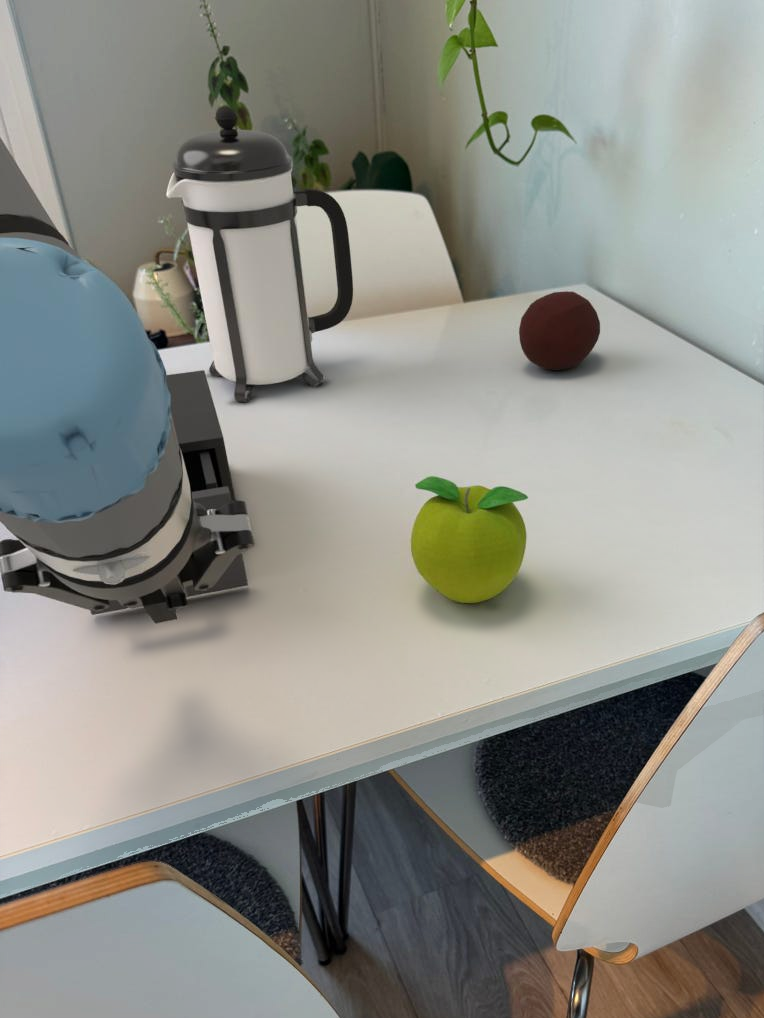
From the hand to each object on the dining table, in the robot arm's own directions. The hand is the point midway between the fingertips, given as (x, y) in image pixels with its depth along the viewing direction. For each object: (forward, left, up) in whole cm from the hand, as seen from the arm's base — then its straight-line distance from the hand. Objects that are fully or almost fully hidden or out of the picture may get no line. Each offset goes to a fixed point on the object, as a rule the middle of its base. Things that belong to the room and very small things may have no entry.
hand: (162, 602), depth 64 cm
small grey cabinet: (0, +27, -8) cm, 28 cm away
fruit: (+24, +5, -8) cm, 26 cm away
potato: (+51, +49, -8) cm, 71 cm away
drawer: (0, +16, -7) cm, 18 cm away
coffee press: (+16, +58, -8) cm, 61 cm away
